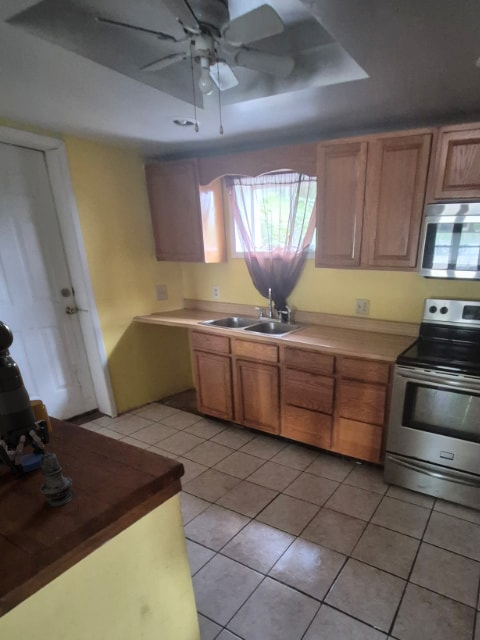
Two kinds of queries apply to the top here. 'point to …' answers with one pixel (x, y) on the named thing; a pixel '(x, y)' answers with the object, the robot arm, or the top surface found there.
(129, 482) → the top surface
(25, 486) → the top surface
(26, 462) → the lid
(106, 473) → the top surface
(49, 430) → the jar
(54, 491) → the grey metal fitting
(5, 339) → the robot arm
